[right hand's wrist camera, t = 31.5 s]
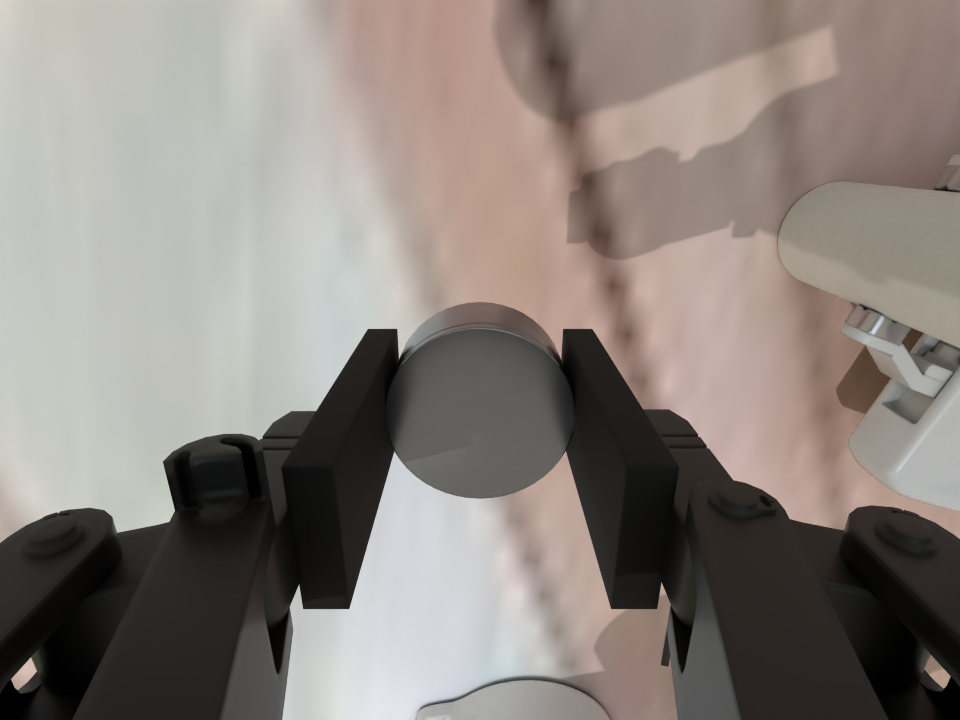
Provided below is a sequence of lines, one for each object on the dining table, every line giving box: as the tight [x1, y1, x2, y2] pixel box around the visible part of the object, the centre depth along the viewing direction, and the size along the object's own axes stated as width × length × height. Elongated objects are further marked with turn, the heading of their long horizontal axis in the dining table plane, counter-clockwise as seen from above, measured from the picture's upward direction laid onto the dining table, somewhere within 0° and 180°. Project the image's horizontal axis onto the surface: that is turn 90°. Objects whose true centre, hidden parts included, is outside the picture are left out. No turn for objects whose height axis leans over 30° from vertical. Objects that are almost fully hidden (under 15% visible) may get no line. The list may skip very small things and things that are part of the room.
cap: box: [385, 302, 575, 498], centre depth 13 cm, size 4×4×2 cm
